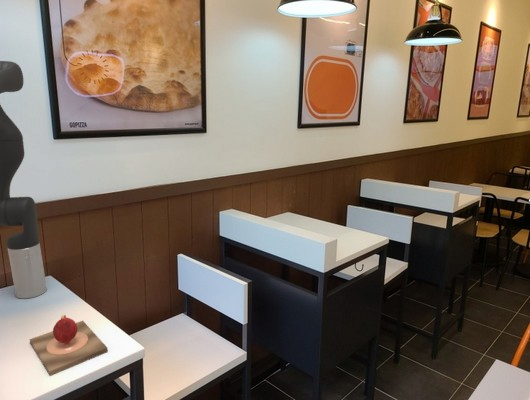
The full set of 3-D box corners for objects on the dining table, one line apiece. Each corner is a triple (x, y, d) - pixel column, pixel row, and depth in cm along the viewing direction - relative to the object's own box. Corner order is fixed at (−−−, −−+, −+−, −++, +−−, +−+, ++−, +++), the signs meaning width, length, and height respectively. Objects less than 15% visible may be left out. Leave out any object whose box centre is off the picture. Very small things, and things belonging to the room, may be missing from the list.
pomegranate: (80, 344, 109) (77, 317, 107) (56, 352, 106) (52, 324, 104) (76, 334, 113) (73, 307, 111) (53, 341, 110) (49, 314, 108)
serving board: (30, 343, 112) (29, 338, 111) (83, 324, 121) (82, 319, 120) (50, 375, 99) (49, 370, 98) (107, 351, 108) (107, 346, 108)
